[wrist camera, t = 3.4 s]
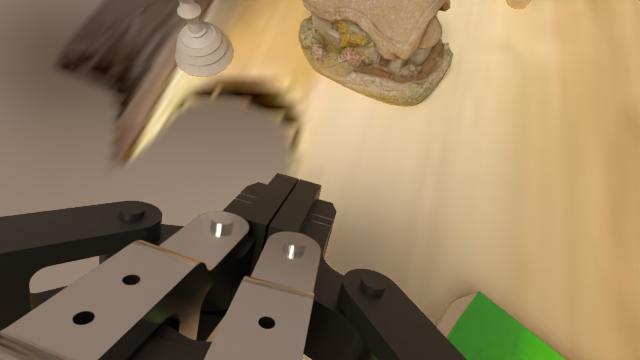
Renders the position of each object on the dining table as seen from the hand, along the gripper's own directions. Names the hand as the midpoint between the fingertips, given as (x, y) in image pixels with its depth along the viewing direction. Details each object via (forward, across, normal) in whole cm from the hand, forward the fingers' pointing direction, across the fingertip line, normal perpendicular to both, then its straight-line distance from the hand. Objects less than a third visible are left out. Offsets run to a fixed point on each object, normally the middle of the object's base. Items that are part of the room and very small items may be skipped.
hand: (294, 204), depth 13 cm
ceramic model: (+27, 0, -4) cm, 27 cm away
